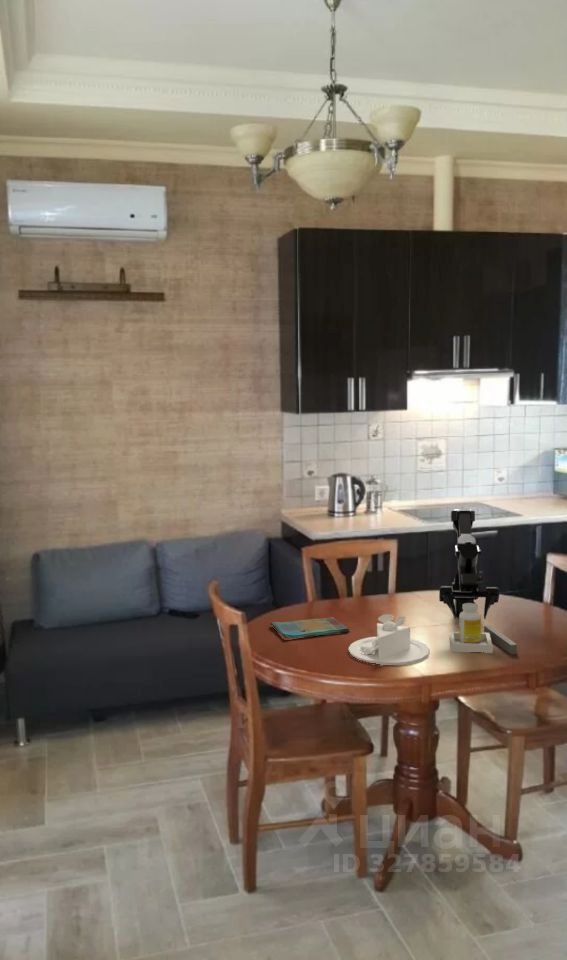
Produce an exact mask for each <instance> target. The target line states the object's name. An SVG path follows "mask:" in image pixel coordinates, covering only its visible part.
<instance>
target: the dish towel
mask: <svg viewBox="0 0 567 960" xmlns="http://www.w3.org/2000/svg"><path fill="white" fill-rule="evenodd" d="M271 625H273V627H274V628H275V629H276V630H277V631H278V632H279V633H281V634H282V635H283V636H284V637H285V638H295V637H296V638H297V637H309V638H311V637H310V636H317V637H320V636H319V635H325V636H328V635H327V634H334V635H338V634H337V633H341V634H347V633H346V632H349V633H350V632H351V630H350V628H349V627H347V626H346V625H344V624H343V623H341V622H340V621H339V620H337V619H336V618H335V617H334V616H330V617H324V618H313V619H312V618H311V619H299V620H295V621H294V620H293V621H282V622H280V621H273V622H272V621H271V622H270V626H271ZM303 630H306V631H305V632H301V631H303Z"/></svg>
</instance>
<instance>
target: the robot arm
mask: <svg viewBox="0 0 567 960" xmlns="http://www.w3.org/2000/svg"><path fill="white" fill-rule="evenodd" d="M475 514H476V511H475V510H472V508H454V510H451V511H450V522H452V527H453V529H454V531H455V532H456V534H457V535H456V536H457V539H456V544H455V545H454V556H456V558H457V570H458V571H457V572H456V573H455V575H454V579H453V581H452V582H451V583H452V585H450V586H449V585H448V586H447V585H444V586H443V585H441V586H440V587H439V590H438V591H439V594H438V596H439V597H438V599H439V602H441V603H442V602H443V604H444V605H446V606H447V607H448V608H449V609H450V611H451V614H452V615H453V616H452V617H453V618H454V619H456V618H459V615H460V613H461V612H463V608H462V605H463V604H464V603H474V604H476V602H475V601H476V600H478V599H479V598H484V599H485V600H484V610H483V619H484V620H486V619H487V616H488V612H489V609H490V608H491V605H492V606H493V605H495V604H497V603H499V599H500V589H499V587H498V586H496V587H495V586H492V587H491V586H486V587H485V590H479V589H480V588H479V583H484V571H477V565H478V557H480V555H482V549H481V548H480V547H479V545H477V540H476V538H475V537H474V536H472V535H473V533H472V528H473V523H474V522H476V515H475Z"/></svg>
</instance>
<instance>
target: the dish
mask: <svg viewBox="0 0 567 960" xmlns="http://www.w3.org/2000/svg"><path fill="white" fill-rule="evenodd" d="M393 619H394V615H392V614H389V613H385V614H382V615H380V616H379V617H378V618H377V620H378V621H379V622H380V623H379V622H377V623H376V636H369V637H365V638H361V639H358V640H355V641H354V642H352V643H350V645H349V647H348V653H349V652H350V653H349V655H350V654H351V655H352V656H353V657H355V658H357V659H359V660H363V661H366V662H370V663H376V664H380V665H379V666H383V665H396V667H397V665H399V666H406V665H407V666H409V665H412V664H415V663H419V662H423V661H424V660H426V659H427V658H428V657H429V655H430V648H429V646H428V645H427V644H426V643H424V642H422V641H421V640H417V639H413V638H411V626H404V625H403V624H404V623H405V621H406V620H405V619H406V617H405V616H399V617H397V618H396V619H395V622H394V621H392V620H393ZM351 655H350V656H351ZM352 656H351V657H352ZM353 657H352V658H353ZM355 658H354V659H355ZM357 659H356V660H357ZM359 660H358V661H359ZM405 664H406V665H405Z"/></svg>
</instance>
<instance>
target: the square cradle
mask: <svg viewBox="0 0 567 960" xmlns="http://www.w3.org/2000/svg"><path fill="white" fill-rule="evenodd" d="M449 645H450V646H449V647H450V652H451V653H470V652H482V653H481V654H493V652H494V651H493V650H494V649H493V647H494V645H493V641H492V640H491V638H490V634H489V633H484V632H481V644H474V643H460V642H459V631H449ZM483 652H484V653H483Z"/></svg>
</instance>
